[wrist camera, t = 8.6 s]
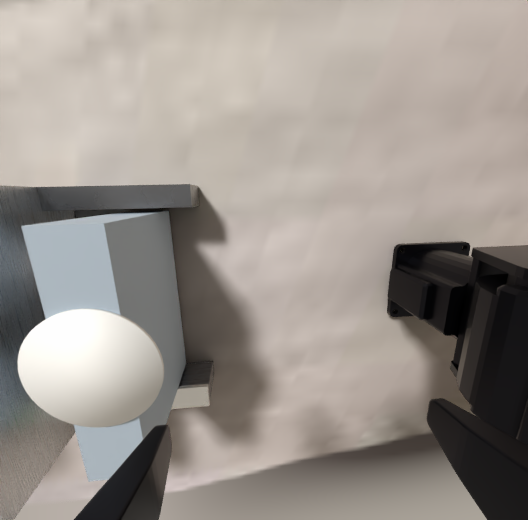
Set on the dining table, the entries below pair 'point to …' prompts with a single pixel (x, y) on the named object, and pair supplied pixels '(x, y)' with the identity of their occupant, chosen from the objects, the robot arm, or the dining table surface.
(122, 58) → the dining table surface
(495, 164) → the dining table surface
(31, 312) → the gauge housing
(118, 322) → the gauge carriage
